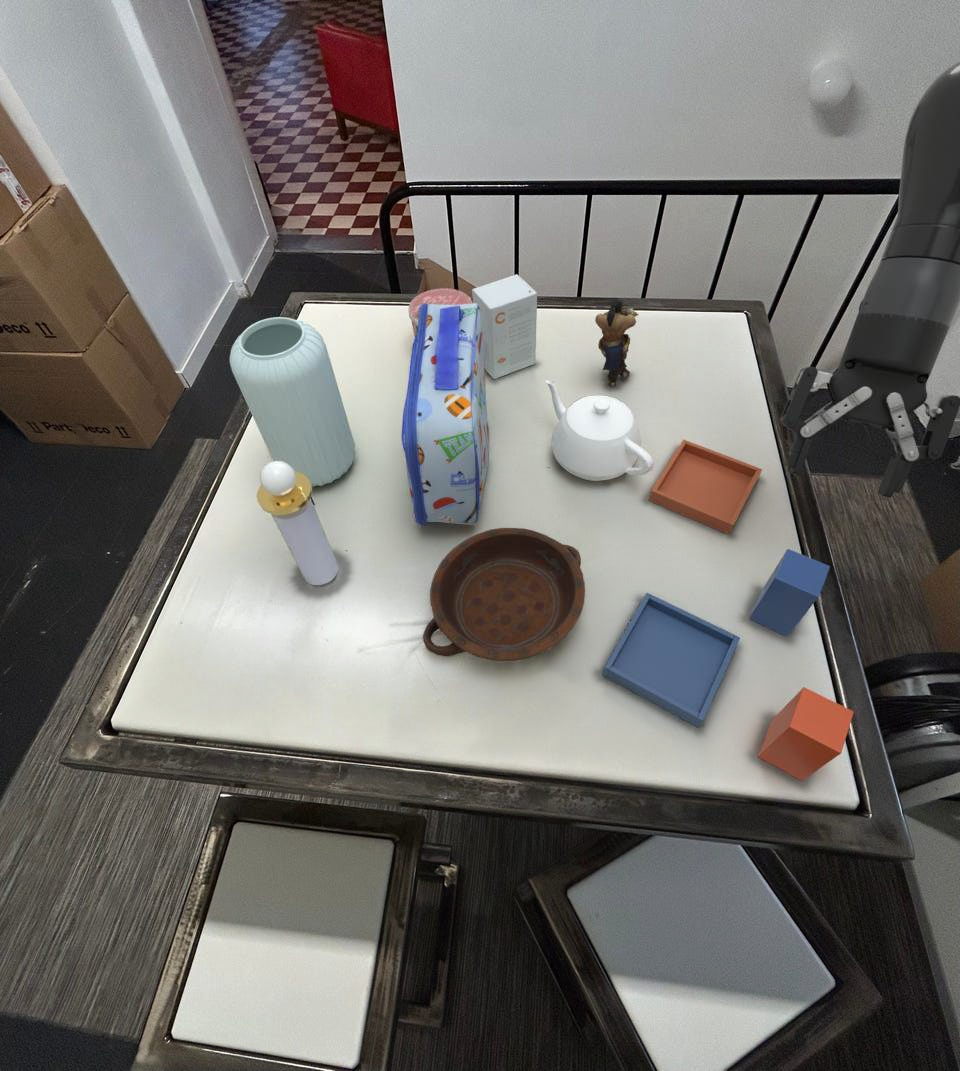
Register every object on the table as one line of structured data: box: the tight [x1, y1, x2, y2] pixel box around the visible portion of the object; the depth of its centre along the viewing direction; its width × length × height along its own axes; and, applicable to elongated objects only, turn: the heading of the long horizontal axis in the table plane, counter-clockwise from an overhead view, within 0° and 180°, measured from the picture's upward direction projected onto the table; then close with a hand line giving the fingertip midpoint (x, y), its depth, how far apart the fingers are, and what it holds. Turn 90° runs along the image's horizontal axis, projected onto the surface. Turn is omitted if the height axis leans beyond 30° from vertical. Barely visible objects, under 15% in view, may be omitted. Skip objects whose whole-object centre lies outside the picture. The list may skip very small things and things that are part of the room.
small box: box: [471, 273, 538, 380], centre depth 97 cm, size 8×6×13 cm
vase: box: [229, 316, 356, 488], centre depth 81 cm, size 12×12×22 cm
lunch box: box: [401, 302, 490, 527], centre depth 80 cm, size 28×10×22 cm, turn 0°
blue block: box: [748, 548, 831, 638], centre depth 69 cm, size 4×4×9 cm
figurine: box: [594, 298, 639, 388], centre depth 92 cm, size 7×6×15 cm
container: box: [407, 288, 473, 337], centre depth 102 cm, size 10×10×8 cm
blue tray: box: [602, 592, 741, 728], centre depth 68 cm, size 11×11×2 cm
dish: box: [422, 527, 586, 662], centre depth 72 cm, size 17×22×5 cm
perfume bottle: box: [256, 460, 339, 586], centre depth 70 cm, size 6×6×20 cm
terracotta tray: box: [648, 439, 763, 535], centre depth 83 cm, size 11×11×2 cm
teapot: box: [545, 379, 655, 482], centre depth 84 cm, size 20×12×10 cm, turn 39°
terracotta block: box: [757, 686, 855, 782], centre depth 59 cm, size 4×4×9 cm
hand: (838, 484), depth 62 cm, fingers open, 8 cm apart
